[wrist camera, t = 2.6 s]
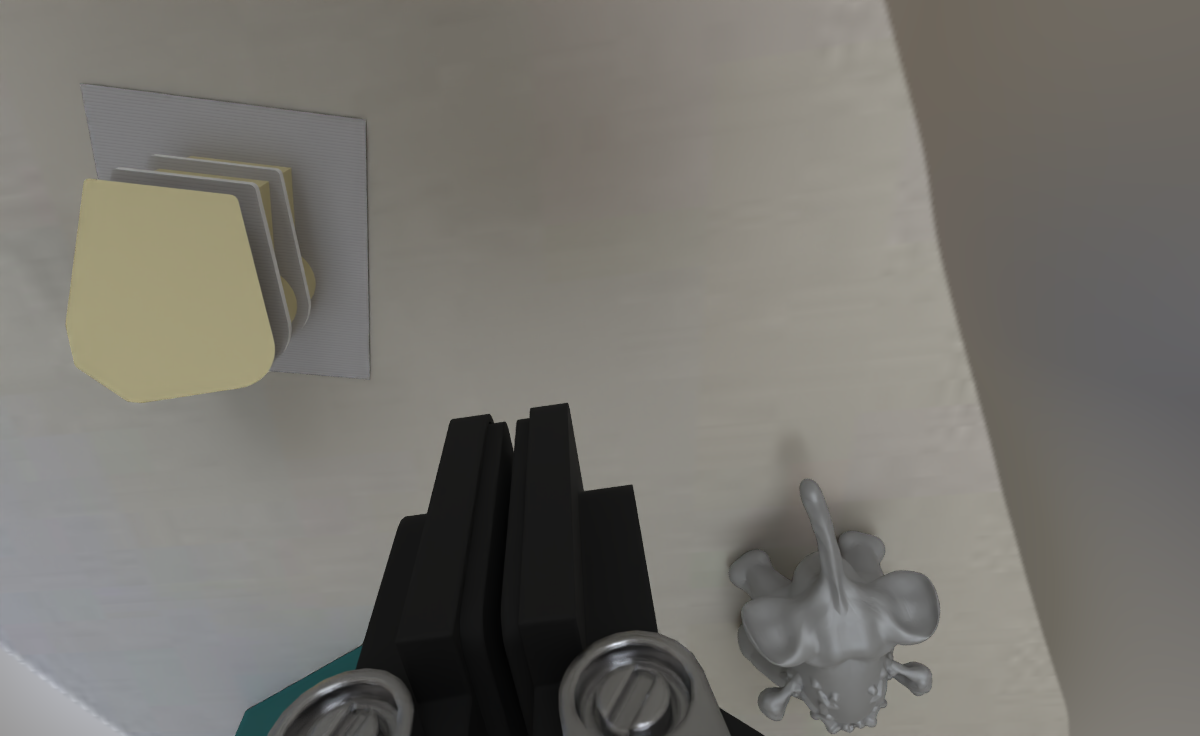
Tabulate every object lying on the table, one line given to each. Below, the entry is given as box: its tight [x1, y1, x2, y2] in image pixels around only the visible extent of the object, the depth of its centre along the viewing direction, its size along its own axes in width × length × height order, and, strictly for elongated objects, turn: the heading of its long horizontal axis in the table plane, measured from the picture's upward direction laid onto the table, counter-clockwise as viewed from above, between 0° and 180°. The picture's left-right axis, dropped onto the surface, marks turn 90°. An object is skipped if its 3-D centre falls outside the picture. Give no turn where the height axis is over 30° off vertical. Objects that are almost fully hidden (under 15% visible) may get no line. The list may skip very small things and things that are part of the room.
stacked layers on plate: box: [66, 83, 370, 403], centre depth 23 cm, size 10×9×6 cm
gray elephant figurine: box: [729, 479, 940, 734], centre depth 30 cm, size 9×12×8 cm
